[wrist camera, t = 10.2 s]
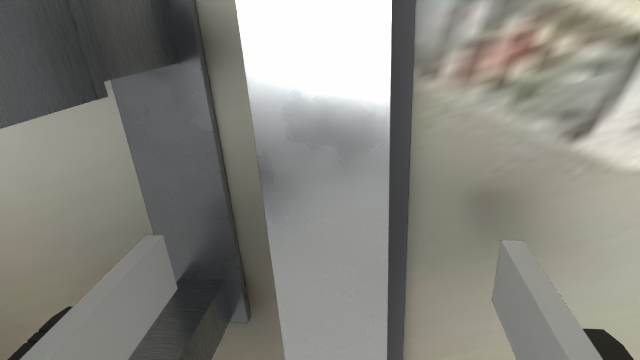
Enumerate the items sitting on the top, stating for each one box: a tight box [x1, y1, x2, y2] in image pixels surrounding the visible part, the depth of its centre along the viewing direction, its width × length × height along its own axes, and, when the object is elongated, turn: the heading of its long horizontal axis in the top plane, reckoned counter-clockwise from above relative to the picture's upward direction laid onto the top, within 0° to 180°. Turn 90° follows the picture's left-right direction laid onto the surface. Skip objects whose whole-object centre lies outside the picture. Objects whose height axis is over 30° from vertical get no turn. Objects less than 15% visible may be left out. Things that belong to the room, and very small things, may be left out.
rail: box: [236, 0, 391, 360], centre depth 17 cm, size 4×26×6 cm, turn 4°
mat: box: [387, 0, 416, 360], centre depth 20 cm, size 6×27×1 cm, turn 4°
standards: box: [0, 0, 251, 360], centre depth 16 cm, size 7×20×12 cm, turn 4°
